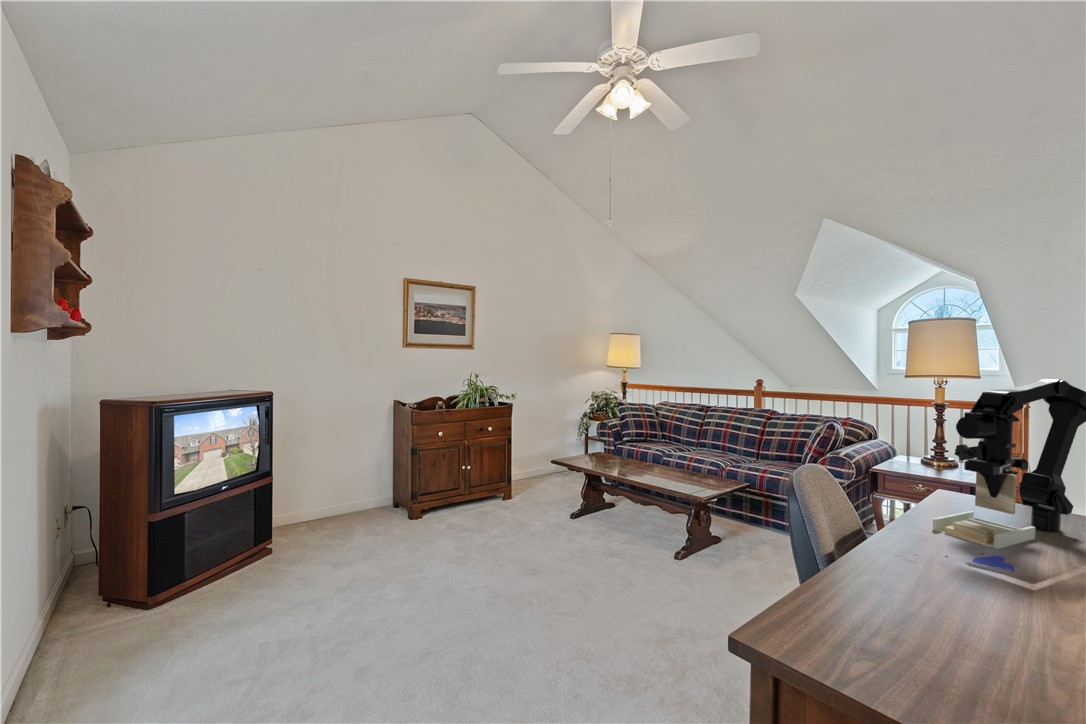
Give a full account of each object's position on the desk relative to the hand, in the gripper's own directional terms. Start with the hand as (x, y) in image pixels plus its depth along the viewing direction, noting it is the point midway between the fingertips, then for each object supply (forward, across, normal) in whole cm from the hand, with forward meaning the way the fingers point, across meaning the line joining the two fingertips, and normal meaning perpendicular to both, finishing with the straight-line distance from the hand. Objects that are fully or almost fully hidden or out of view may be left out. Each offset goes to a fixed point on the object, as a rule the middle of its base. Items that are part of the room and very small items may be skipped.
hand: (995, 497), depth 134 cm
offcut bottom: (+9, +11, 0) cm, 14 cm away
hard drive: (+11, +23, +10) cm, 28 cm away
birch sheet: (+3, 0, 0) cm, 3 cm away
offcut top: (+8, +10, 0) cm, 13 cm away
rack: (+10, +5, 0) cm, 12 cm away
